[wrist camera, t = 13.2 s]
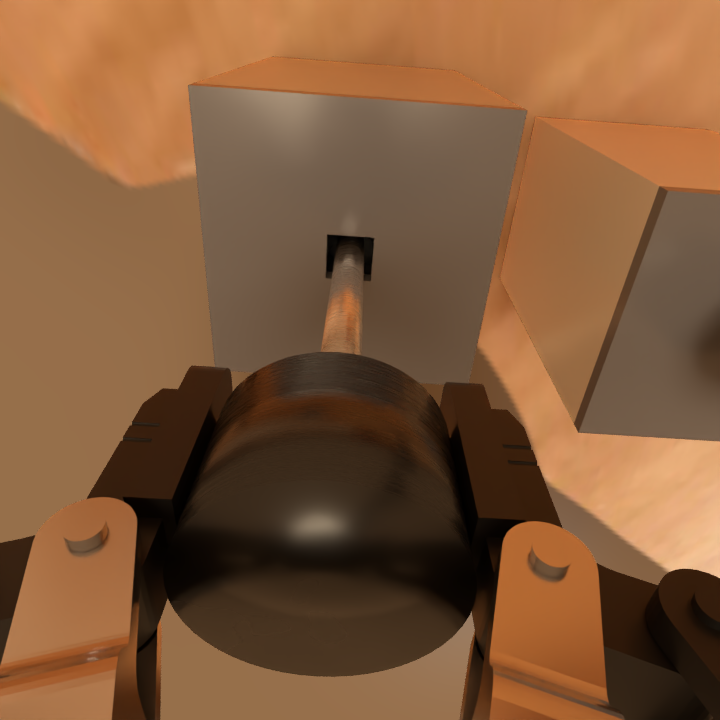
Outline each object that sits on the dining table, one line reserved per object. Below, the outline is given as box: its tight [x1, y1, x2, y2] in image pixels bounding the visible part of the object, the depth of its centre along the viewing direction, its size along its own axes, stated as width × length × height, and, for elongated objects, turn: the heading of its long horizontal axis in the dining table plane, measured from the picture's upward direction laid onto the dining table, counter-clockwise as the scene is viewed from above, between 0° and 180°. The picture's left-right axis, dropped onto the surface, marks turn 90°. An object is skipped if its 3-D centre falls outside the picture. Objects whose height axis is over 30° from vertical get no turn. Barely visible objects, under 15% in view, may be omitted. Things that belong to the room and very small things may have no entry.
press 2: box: [500, 117, 720, 441], centre depth 26 cm, size 10×10×16 cm
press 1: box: [188, 57, 527, 385], centre depth 25 cm, size 10×10×16 cm
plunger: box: [163, 234, 477, 677], centre depth 16 cm, size 8×8×19 cm
